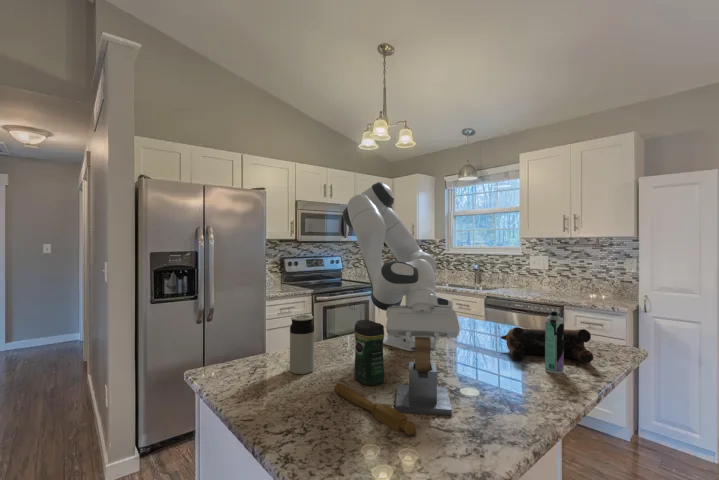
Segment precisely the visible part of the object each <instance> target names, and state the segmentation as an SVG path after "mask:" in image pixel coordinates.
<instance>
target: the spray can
mask: <svg viewBox="0 0 719 480" xmlns="http://www.w3.org/2000/svg"><path fill="white" fill-rule="evenodd" d="M544 321H545V323H544V325H545V326H544V327H545V328H544V329H545V355H544V369H545V372H548V373H550V374H556V375H561V374H564V371H565V370H564V368H565V366H564V362H565V361H564V360H565V359H564V358H565V357H564V330H565V329H564V327H565V322H564V318H562V317H561V316H560V315H559V314H558V311H556V310H553V311H551V313H550V314H549V315H548V316H547V317H545V320H544Z"/></svg>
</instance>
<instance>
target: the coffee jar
mask: <svg viewBox="0 0 719 480" xmlns="http://www.w3.org/2000/svg"><path fill="white" fill-rule="evenodd" d="M353 331H354V339H355V340H354V341H355V348H354V349H355V350H354V351H355V352H354V353H355V354H354V368H353V369H354V370H353V371H354V372H353V373H354V374H353V375H354V376H353V377H354V379H355V380H356V381H357V382H358V383H361V384H363V385H365V386H377V385H379V384H382V383H383V382H384V381H385V364H384V344H383V339H384V338H385V327H384V325H383V324H381V323H378V322H376V321H372V320H369V319H361V320H360V319H359V320H357V321H356V322H355V324H354V330H353Z"/></svg>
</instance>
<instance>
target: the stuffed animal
mask: <svg viewBox="0 0 719 480" xmlns="http://www.w3.org/2000/svg"><path fill="white" fill-rule="evenodd" d="M591 335H592V334H591V332H590V331H588V330H587V329H584V328H578V329H564V358H569V359H574V360H577V361H579V362H582V363H584V364H590V363H591V362H592V361H594V354H593V353H592V352H591V351H590V350H589V349H587V348H586V346H585V343H588V342H589V341H590V340H592V339H591V338H592V337H591ZM500 339H501V340H504V341H506V347H507V349H508V350H509V353H510V356H511V358H512V359H513V360H514V361H515V362H522V361H523V359H524V355H539V356H545V328H543V329H541V328H540V329H538V328H522V327H519V326H516V327H512V328H511V329H509V330H508V332H507V334H505V335H501V336H500Z"/></svg>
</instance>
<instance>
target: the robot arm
mask: <svg viewBox="0 0 719 480" xmlns="http://www.w3.org/2000/svg"><path fill="white" fill-rule="evenodd" d="M394 202H395V196H394V193H393V191H392V189H391V188H390V187H389V186H388V185H387V184H385V183H383V182H382V181H381V182H380V181H377V182H376V183H373V184H372V185H371V186H370V187H368V188H367V189H366V190H364V191H362V192H361V193H358V194H355V195H354V196H352V197H351V198H350V199H349V200H348V202H347V206H346V207H345V208H344V209H343V211H342V219H343V221H344V223H345V225H347V227H349V229H351V230H353V231H354V234H355V237H356V240H357V242H358V247H359V250H360V252H361V257H362V260H363V263H364V267H365V270H366V272H367V276H368V279H369V283H370V285H371V286H370V287H371V290H370V291H371V292H370V299H371V302H372V304H373V305H374V306H375V307H377V308H378V309H379V310H382V311H386V313H385V316H386V318H387V320H386V325H385V329H386V333H387V336H386V337H384V339H383V345H387V346H390V347H393V348H396V349H401V350H405V351H408V352H413V351H414V352H415V337H430V341H431V351H433V352H434V351H435V352H436V351H437V344H438V343H439V340H440V338H445V339H446V338H448V339H456V338H457V337H458V336H459V335H460V331H461V330H460V322H459V318H458V315H457V312H456V311H455V310H454V307H453V301H452V300H451V299H448V298H444V297H441V296H438V295H437V294H436V289H437V288H436V287H437V285H436V272H437V271H436V270H437V262H436V259H435V258H434V257H433V255H431V254H430V253H428V252H425V251H423V250H422V248H421V247H420V246H419V244H418V242H417V240H416V239H415V237H414V235H413V233H412V232H411V231H410V230H409V228H408V227H407V226H406V224H405V223H404V221H402V219H401V218H400V217H399V216H398V214H397V213H396V212H395V211H394V210H393V207H394V206H393V204H395V203H394ZM384 243H385V245H386V246H387V247H388V249H389V250H390V251H391V253H392V255H393V256H394V257H395V259H396V260H390V261H387V262H385V263H384V261H383V248H384V247H383V246H384ZM404 296H405V297H404ZM403 298H404V299H405V300H404V301H405V302H404V303H405V304H404V305H401V304H402V301H403Z"/></svg>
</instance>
